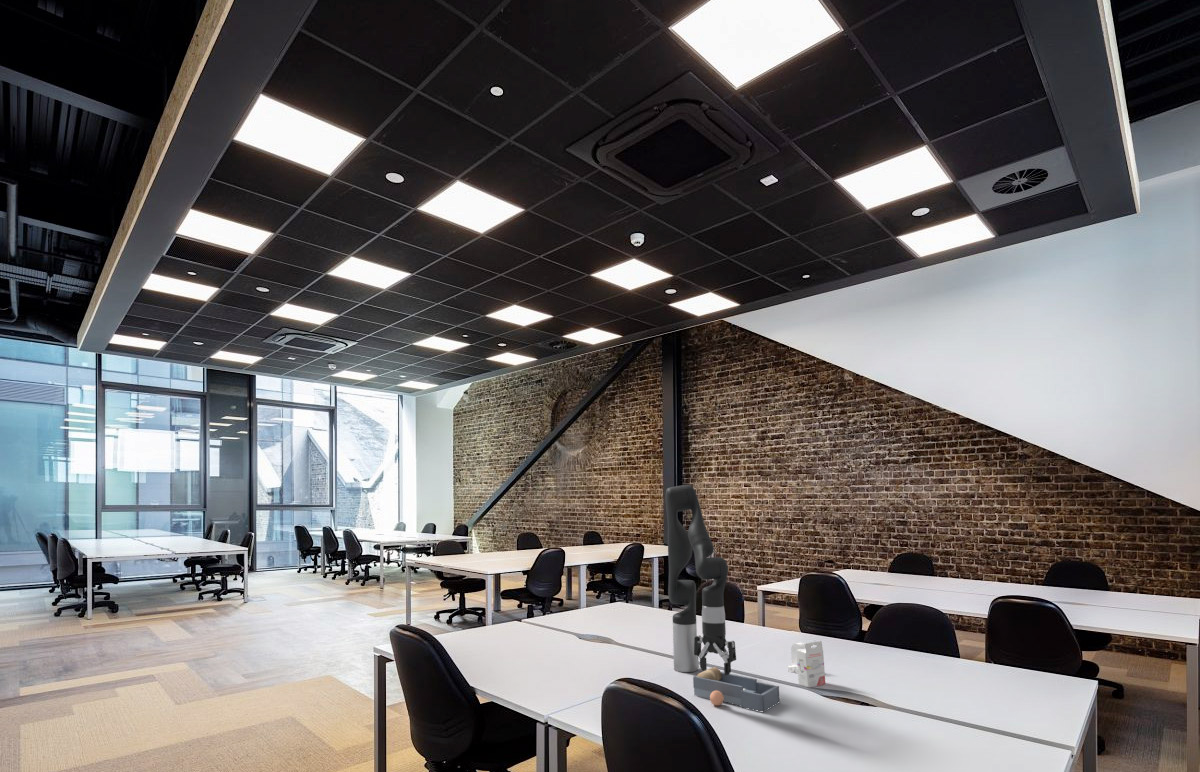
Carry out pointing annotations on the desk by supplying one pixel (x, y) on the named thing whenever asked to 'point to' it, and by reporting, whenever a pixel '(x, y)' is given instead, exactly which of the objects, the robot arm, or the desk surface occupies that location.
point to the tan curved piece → (711, 674)
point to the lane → (739, 691)
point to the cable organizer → (795, 656)
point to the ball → (716, 698)
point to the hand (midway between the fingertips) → (715, 672)
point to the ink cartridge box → (811, 665)
